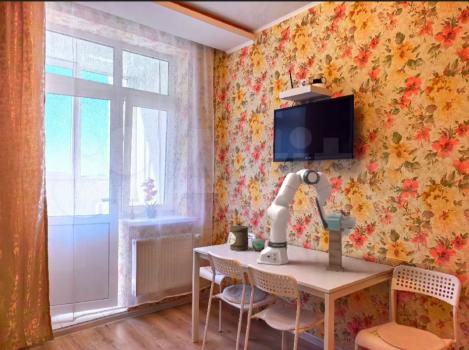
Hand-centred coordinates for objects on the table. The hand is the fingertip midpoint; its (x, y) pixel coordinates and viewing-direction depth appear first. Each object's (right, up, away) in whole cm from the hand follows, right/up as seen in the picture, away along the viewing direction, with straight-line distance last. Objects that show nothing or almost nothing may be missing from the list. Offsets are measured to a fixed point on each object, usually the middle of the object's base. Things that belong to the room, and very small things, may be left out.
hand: (338, 215), depth 218 cm
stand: (-5, -33, -9) cm, 35 cm away
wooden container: (-65, -34, +51) cm, 89 cm away
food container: (-49, -34, +43) cm, 73 cm away
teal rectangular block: (-3, -5, -5) cm, 7 cm away
